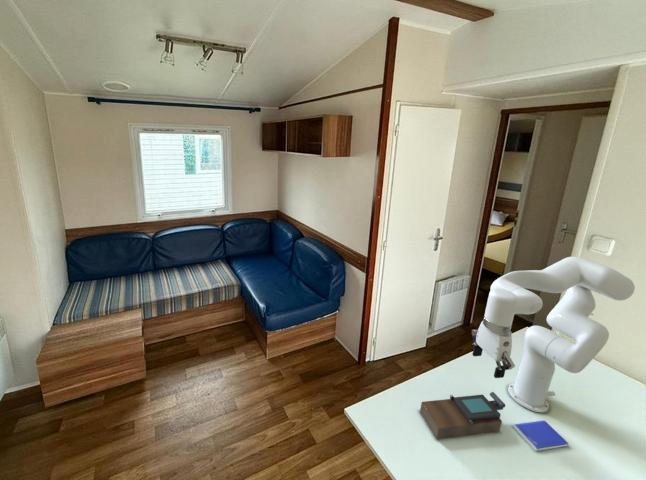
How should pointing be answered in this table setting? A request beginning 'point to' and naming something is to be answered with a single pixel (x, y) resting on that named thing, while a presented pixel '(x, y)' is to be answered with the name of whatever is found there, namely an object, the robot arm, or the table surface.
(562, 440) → the hard drive
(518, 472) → the table surface
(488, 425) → the stand
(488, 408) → the device
